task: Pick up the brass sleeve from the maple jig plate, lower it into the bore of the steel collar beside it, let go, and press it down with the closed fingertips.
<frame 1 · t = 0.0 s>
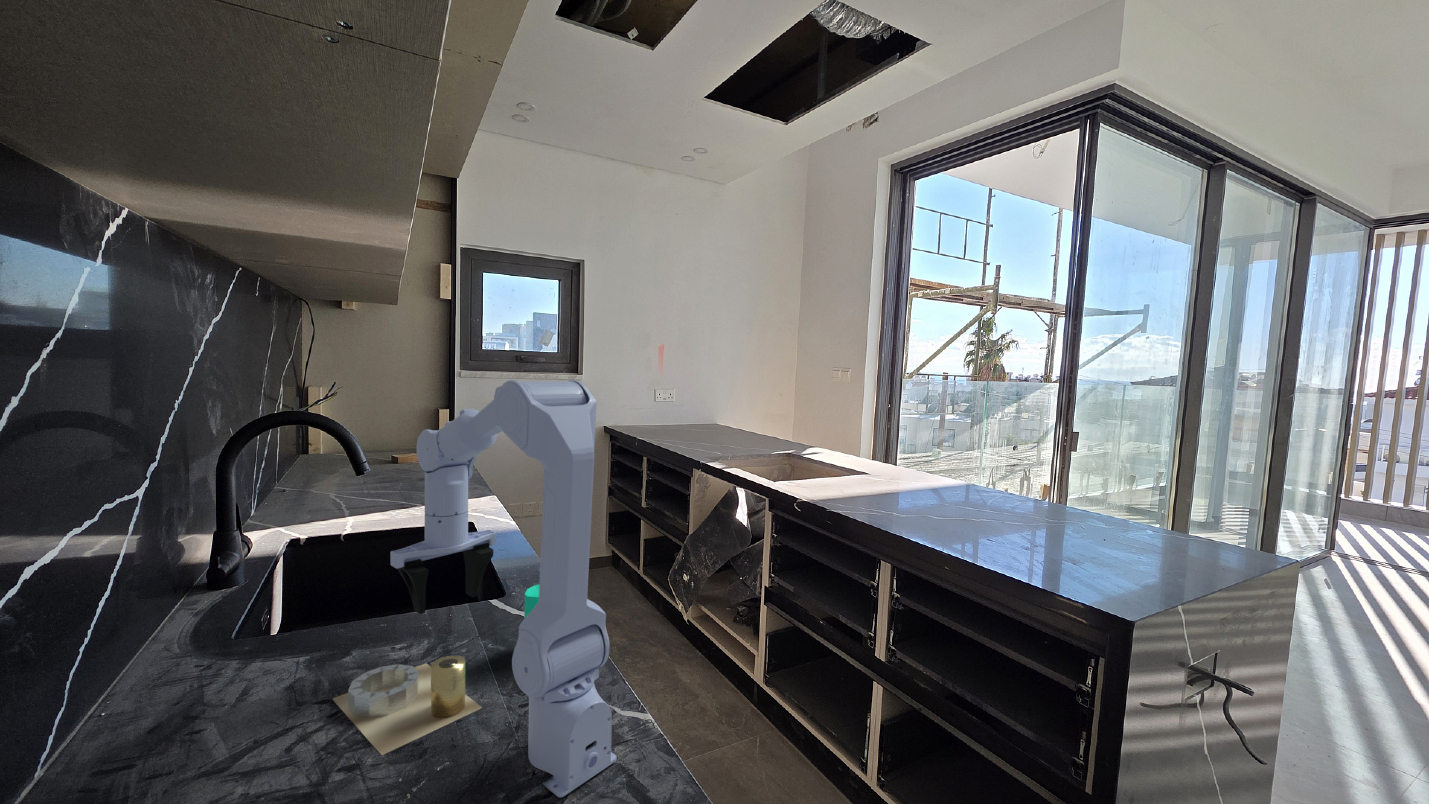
hand: (446, 602, 83), 10 cm above the worktop, tool pointing down, fingers open, 7 cm apart
brass sleeve: (448, 708, 73), point 1 cm above the worktop, touching jig plate
jig plate: (406, 710, 74), on the worktop
candle: (544, 656, 89), on the worktop
bore collar: (385, 706, 75), resting on jig plate
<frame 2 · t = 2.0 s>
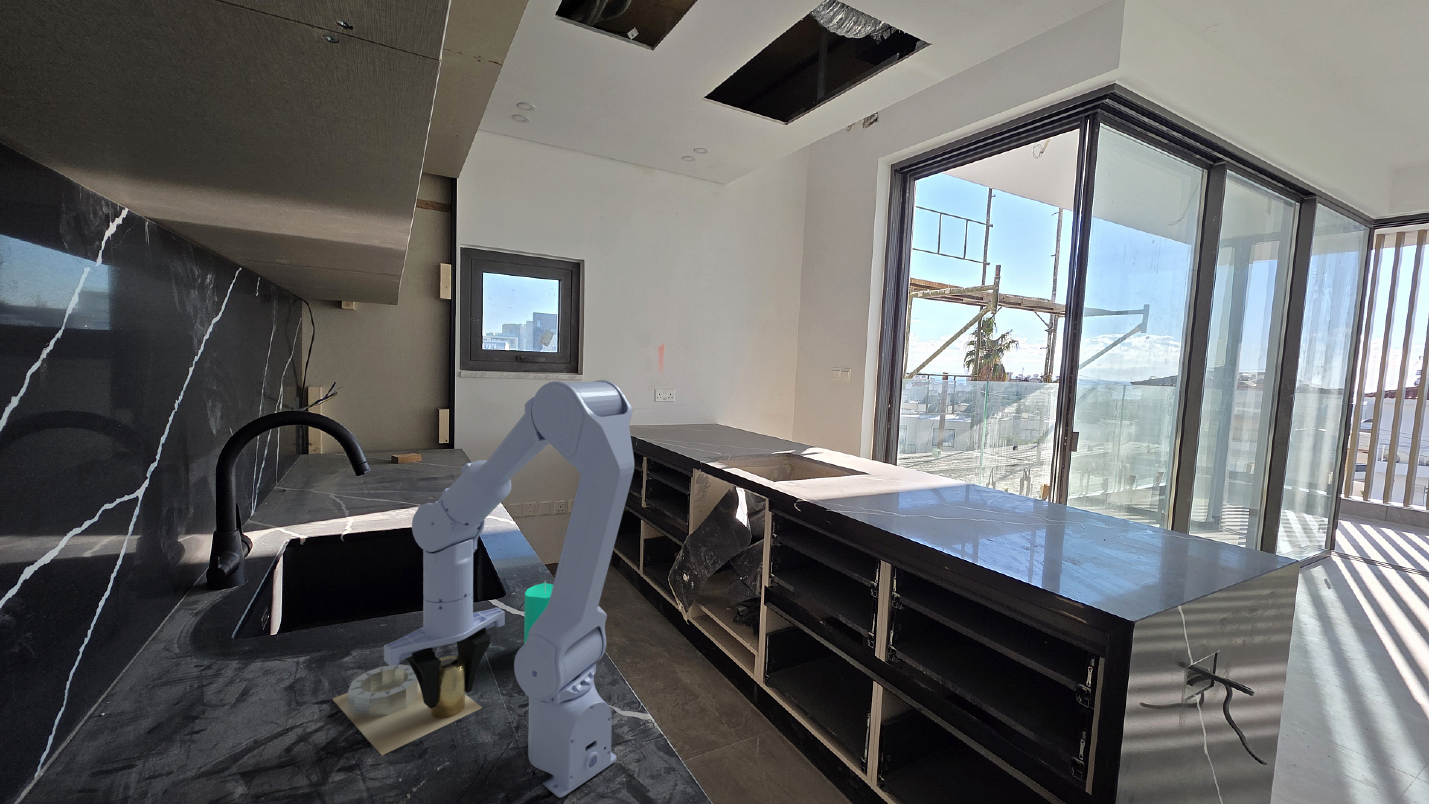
hand: (448, 696, 73), 3 cm above the worktop, tool pointing down, fingers closed on brass sleeve, 4 cm apart
brass sleeve: (448, 708, 73), point 1 cm above the worktop, touching gripper, jig plate
everything else where it was.
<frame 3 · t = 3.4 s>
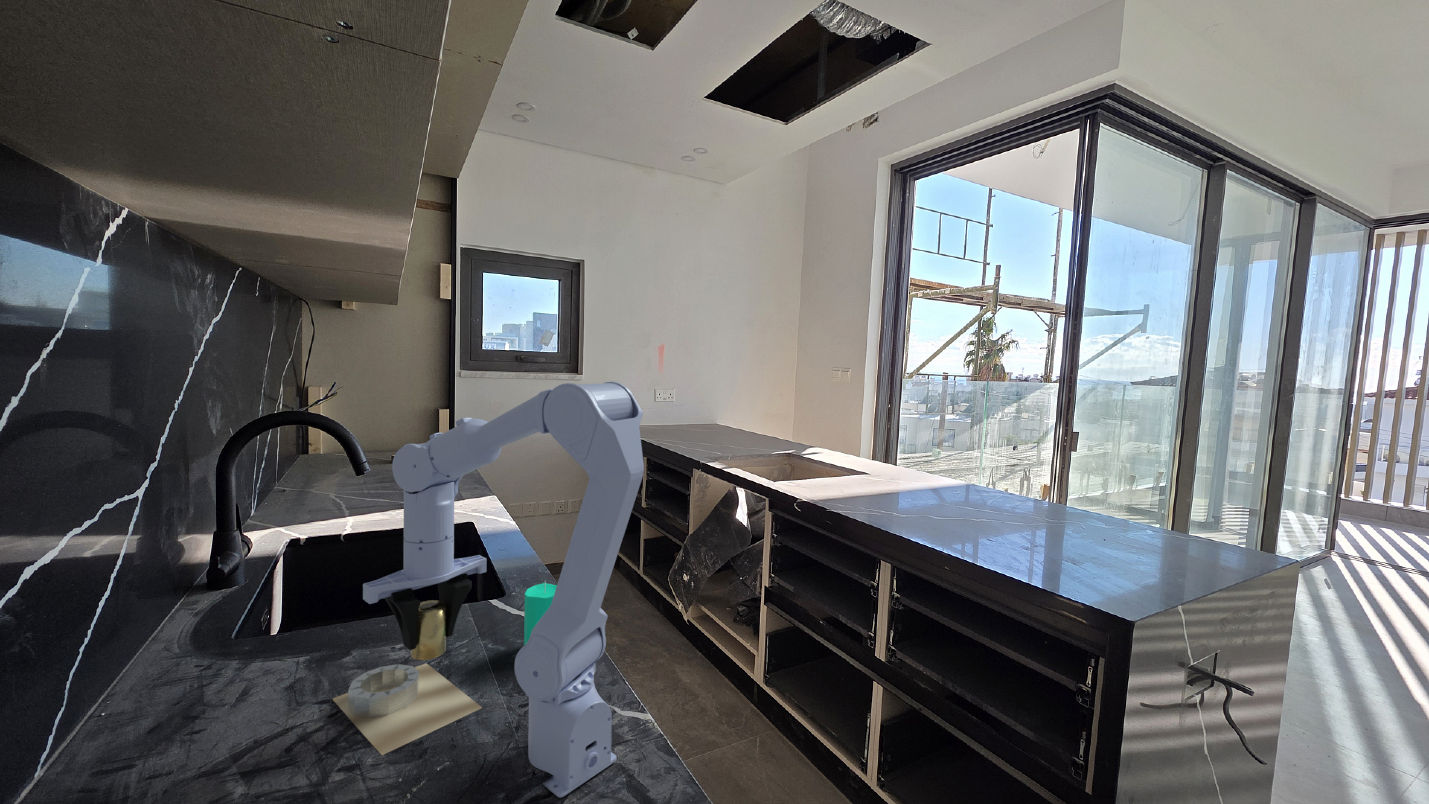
hand: (428, 640, 73), 10 cm above the worktop, tool pointing down, fingers closed on brass sleeve, 4 cm apart
brass sleeve: (428, 652, 73), point 8 cm above the worktop, touching gripper
everything else where it was.
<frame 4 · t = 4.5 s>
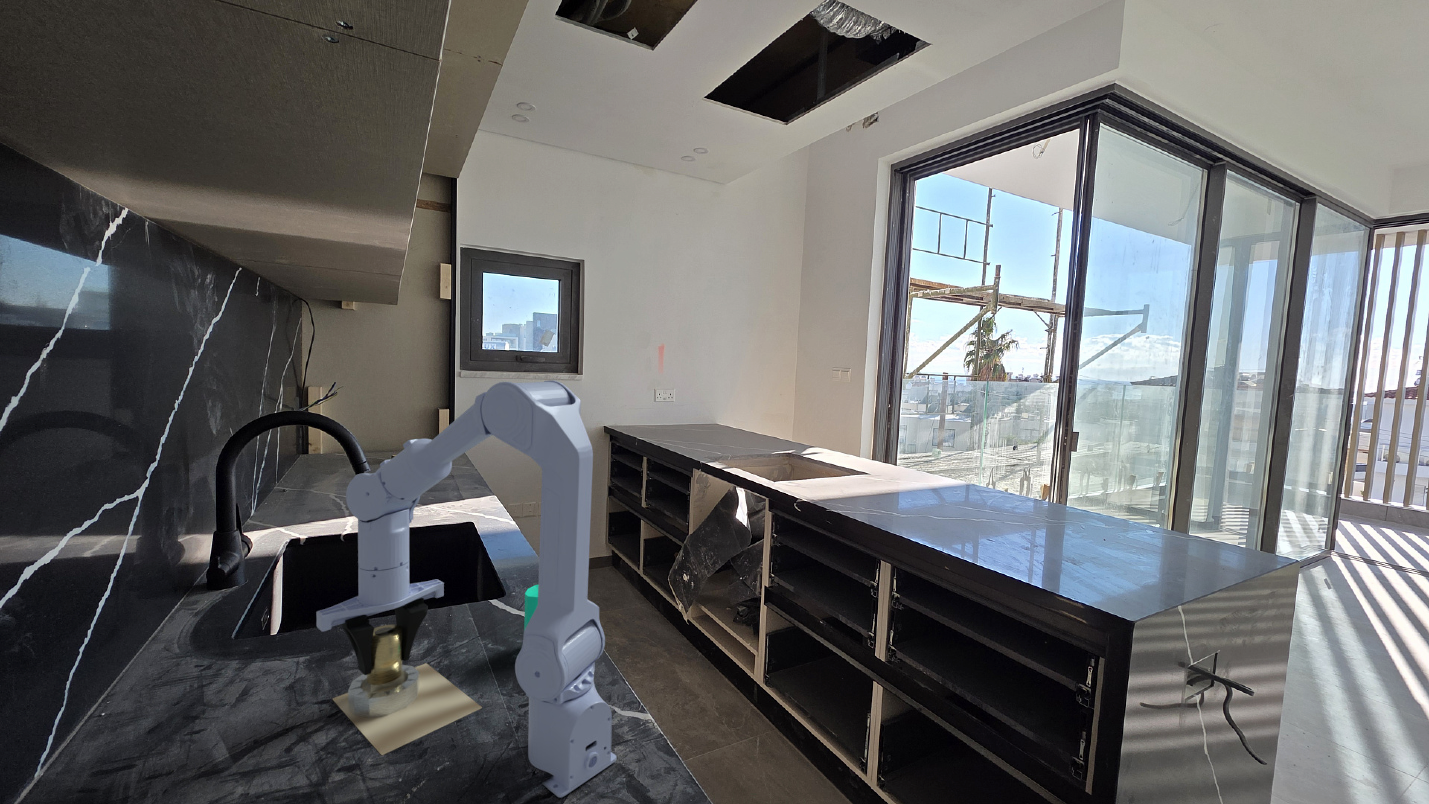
hand: (384, 664, 74), 6 cm above the worktop, tool pointing down, fingers closed on brass sleeve, 4 cm apart
brass sleeve: (384, 676, 74), point 4 cm above the worktop, touching gripper
everything else where it was.
when the fingers open (4 cm above the worktop, at t = 5.2 s): brass sleeve drops 2 cm, resting on jig plate.
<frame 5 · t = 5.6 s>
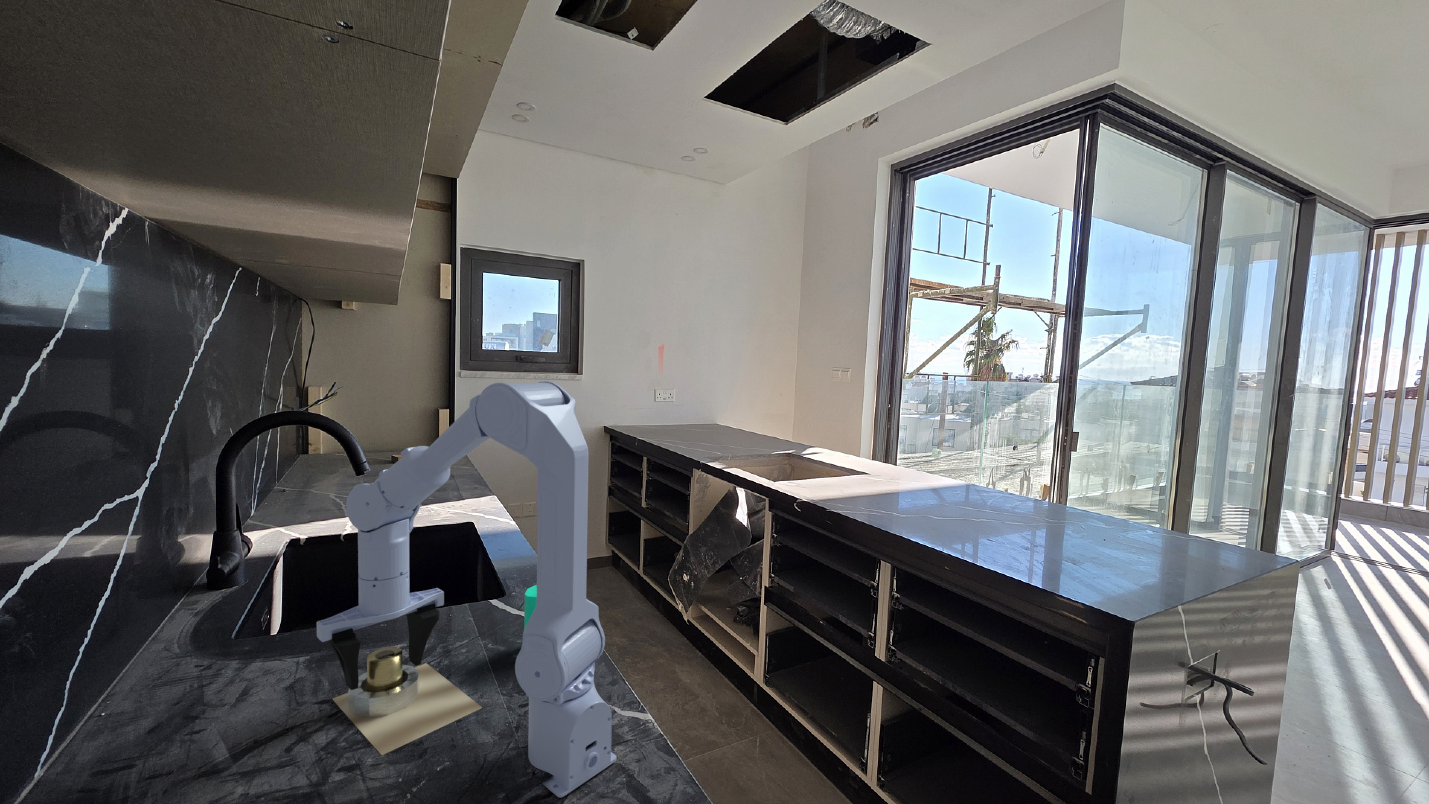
hand: (384, 673, 74), 4 cm above the worktop, tool pointing down, fingers open, 7 cm apart
brass sleeve: (385, 698, 75), point 1 cm above the worktop, touching jig plate
everything else where it was.
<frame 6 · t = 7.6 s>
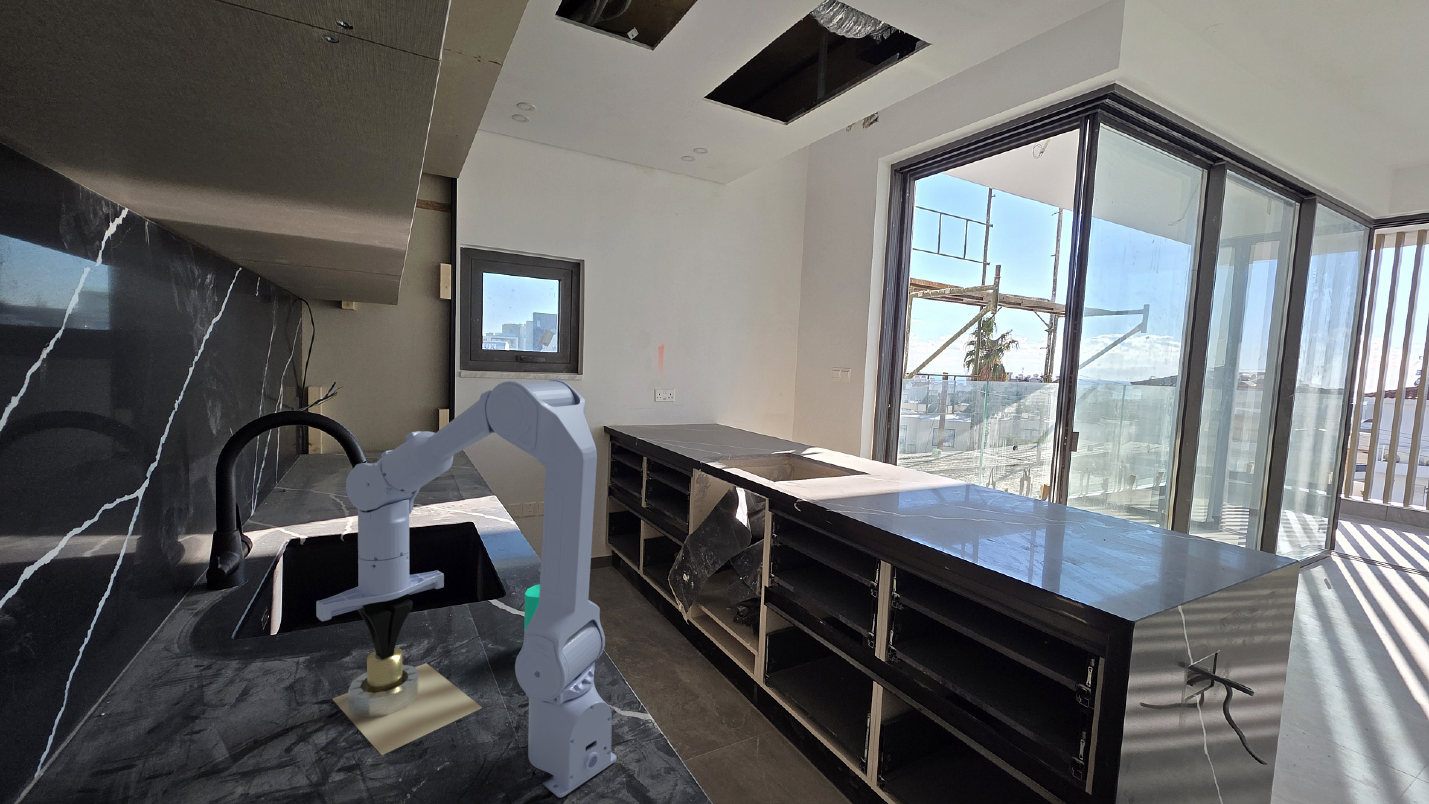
hand: (384, 655, 74), 7 cm above the worktop, tool pointing down, fingers closed, pressing on brass sleeve
brass sleeve: (385, 699, 75), point 1 cm above the worktop, touching gripper, jig plate
everything else where it was.
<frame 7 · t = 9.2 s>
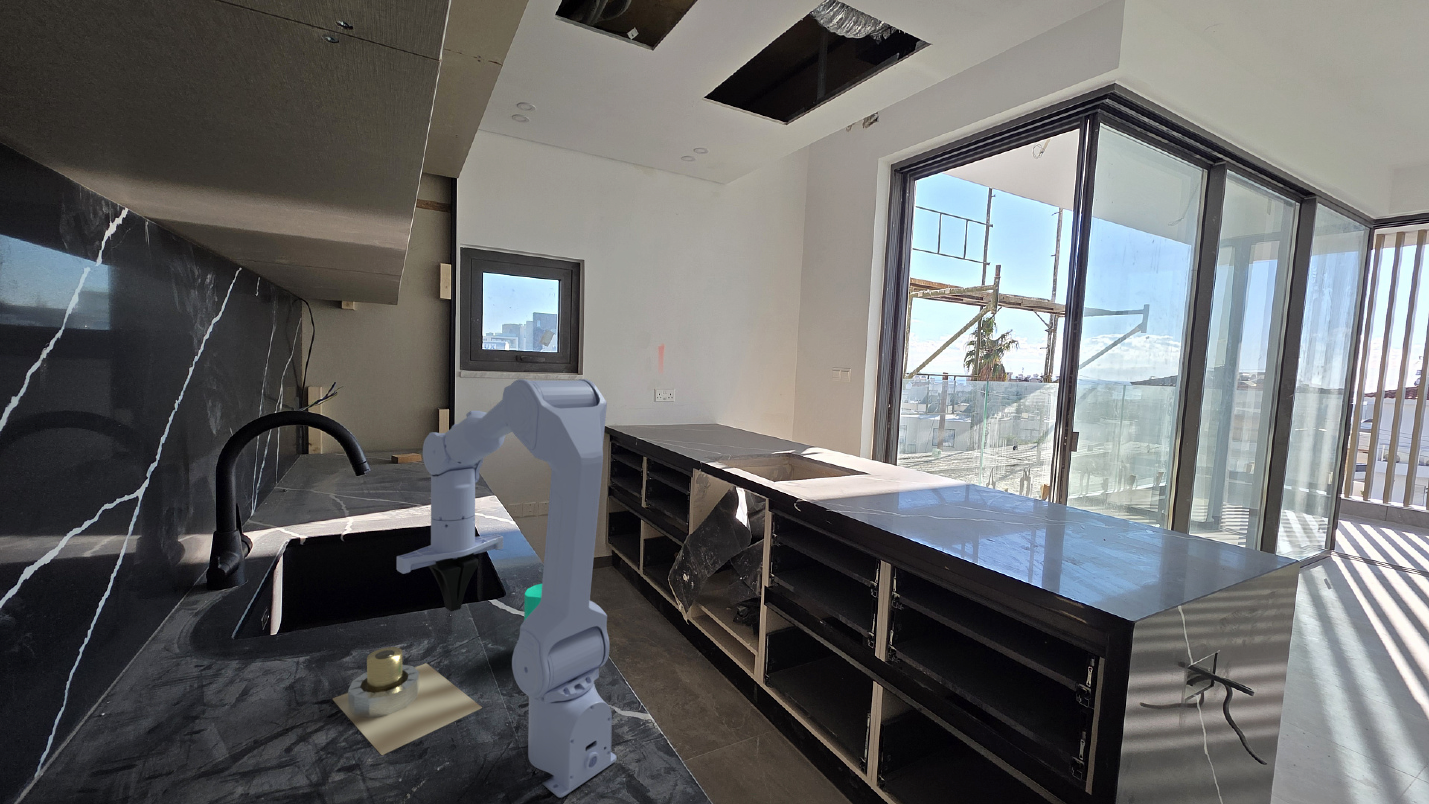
hand: (453, 608, 82), 10 cm above the worktop, tool pointing down, fingers closed
brass sleeve: (385, 698, 75), point 1 cm above the worktop, touching jig plate
everything else where it was.
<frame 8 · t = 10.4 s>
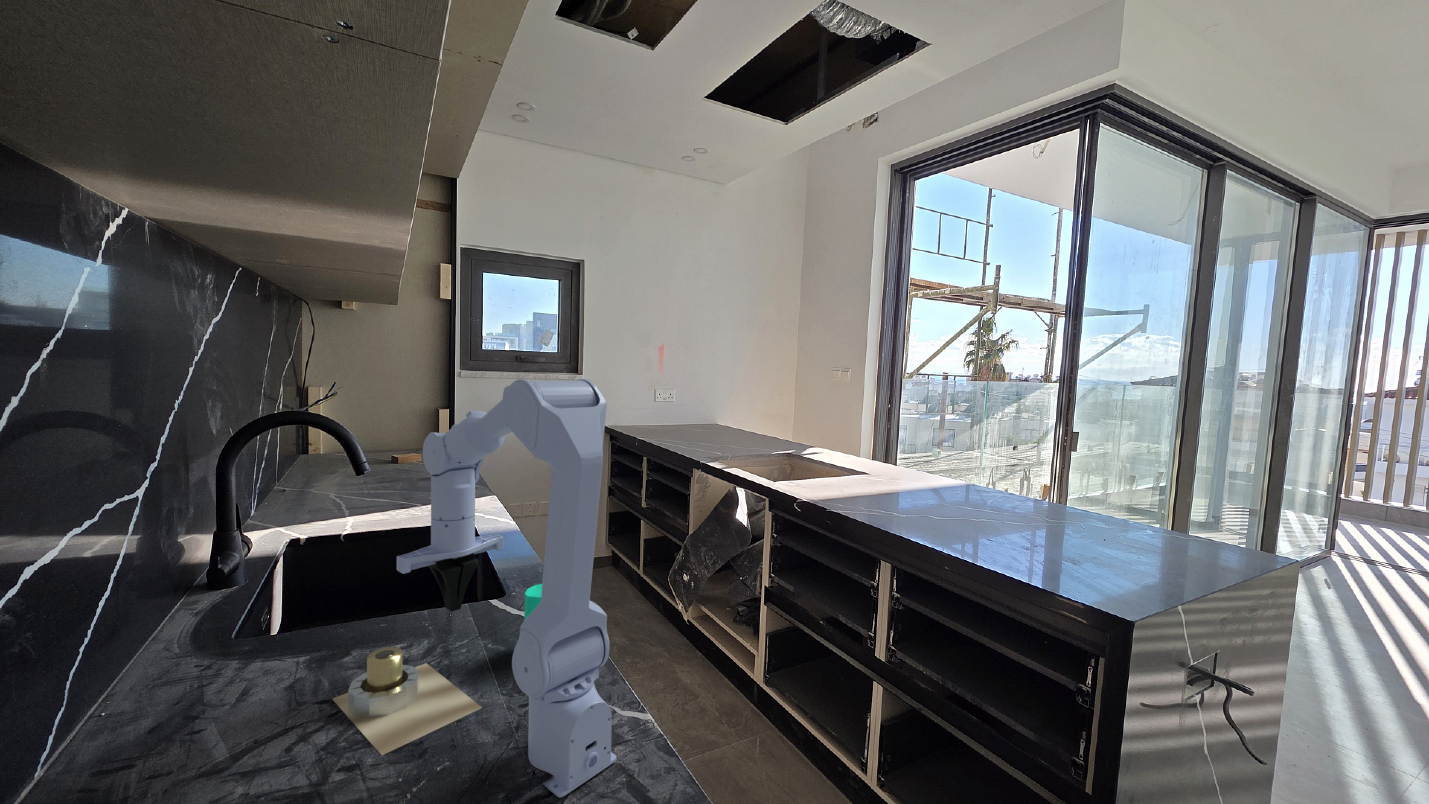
hand: (453, 608, 82), 10 cm above the worktop, tool pointing down, fingers closed
nothing on the worktop moved.
at the end: brass sleeve 0.0 cm off-centre on the bore collar, point 1.0 cm above the bore collar's base; brass sleeve tilted 0°; the gripper is holding nothing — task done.
